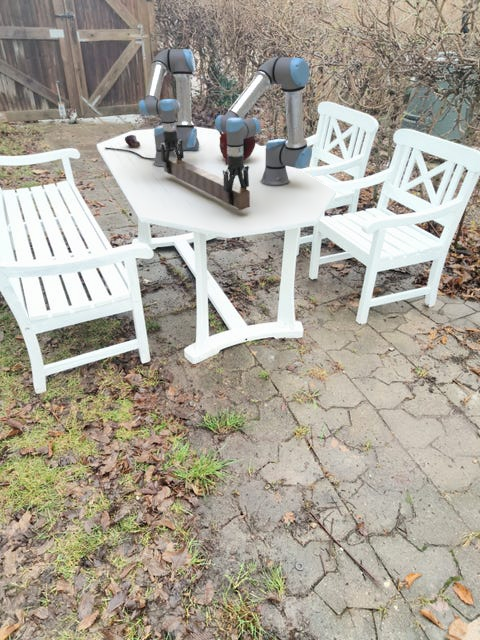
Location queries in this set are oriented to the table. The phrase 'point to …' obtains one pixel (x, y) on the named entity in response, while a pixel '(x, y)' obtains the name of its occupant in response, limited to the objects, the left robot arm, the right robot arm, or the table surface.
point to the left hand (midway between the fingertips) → (174, 172)
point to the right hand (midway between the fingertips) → (236, 203)
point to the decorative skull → (247, 146)
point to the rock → (132, 141)
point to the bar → (208, 182)
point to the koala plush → (192, 147)
